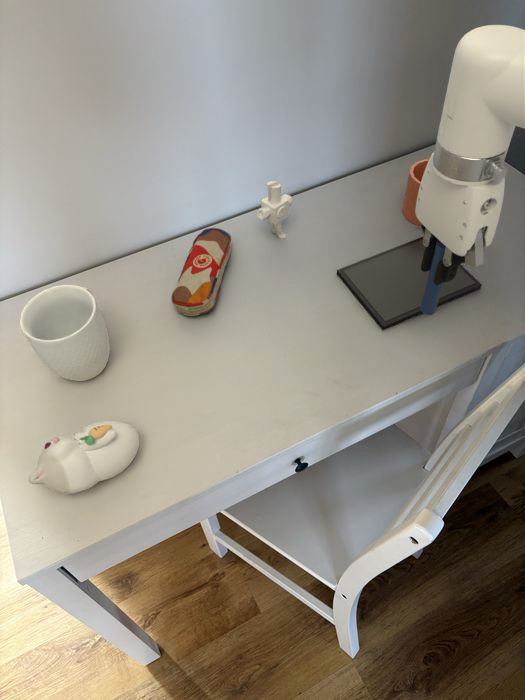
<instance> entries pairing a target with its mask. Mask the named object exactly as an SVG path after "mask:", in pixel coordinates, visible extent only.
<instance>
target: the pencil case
mask: <svg viewBox="0 0 525 700" xmlns="http://www.w3.org/2000/svg"><path fill="white" fill-rule="evenodd" d="M231 244H232V236H231V234H230V233H229V232H228V231H227V230H224V229H222V228H219V227H209V228H205V229H203V230H202V231H201V232H200V233H199V234H197V236H196V237H195V238H194V240H193V242H192V243H191V247H190V249H189V251H188V255H187V257H186V260H185V261H184V265H183V267H182V269H181V272H180V275H179V277H178V280H177V283H176V285H175V287H174V289H173V291H172V293H171V298H170V299H171V302H172V305H173V306H174V308H175V310H176V311H177V312H179V314H181V315H184V316H187V317H195V316H196V317H197V316H201V315H204V314H207V313H208V312H210V311H211V310H212V309H213V308H214V307H215V305H216V303H217V300H218V296H219V291H220V288H221V284H222V280H223V277H224V272H225V269H226V267H227V265H228V262H229V258H230V255H231V252H232V247H231Z"/></svg>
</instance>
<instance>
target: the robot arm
mask: <svg viewBox="0 0 525 700" xmlns="http://www.w3.org/2000/svg"><path fill="white" fill-rule="evenodd" d="M516 127H518V128H521V129H524V130H525V29H523V28H520V27H517V26H512V25H507V24H488V25H482V26H479V27H476V28H473V29H471V30H470V31H468V32H467V33H465V34H464V35H463V36H462V37H461V38H460V39H459V41H458V43H457V45H456V46H455V51H454V54H453V58H452V64H451V68H450V73H449V78H448V83H447V87H446V92H445V97H444V102H443V107H442V112H441V116H440V121H439V126H438V132H437V135H436V140H435V146H434V149H433V152H432V153H431V155H430V157H429V158H428V159H429V161H428V164H427V166H426V169H425V171H424V174H423V177H422V181H421V184H420V188H419V192H418V196H417V201H416V209H415V214H416V217H417V218H418V220H419V221H420V223H421V226H420V227H421V229H422V233H423V236H424V237H423V236H422V237H423V244H424V246H425V247H426V249H425V251H424V255H423V260H422V264H421V270H422V271H423V272H426V271H429V270H430V267H431V263H432V259H433V255H434V251H435V247H436V243H437V241H438V240H440V241H441V242H442V243H443V244H444V245H445V246H446V248H445V252H444V256H443V260H441V261H439V262H438V265H437V269H436V273H435V277H434V283H435V284H436V285H439V284H442V283H444V282H448V281H451V280H453V279H454V278H455V276H456V273H457V269H458V266H459V264H461V265H462V264H464V265H465V266H468V267H470V268H476V267H479V266H482V265H484V263H485V260H484V259H485V257H484V254H485V253H484V251H485V250H484V248H487V247H489V246H491V244H492V243H493V240H494V238H495V234H496V231H497V228H498V225H499V220H500V216H501V212H502V208H503V202H504V196H505V186H506V176H507V174H508V172H509V171H508V169H507V167H505V165H504V164H505V160H506V157H507V153H508V152H509V147H510V144H511V141H512V138H513V136H514V132H515V129H516Z"/></svg>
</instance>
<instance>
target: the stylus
mask: <svg viewBox="0 0 525 700" xmlns="http://www.w3.org/2000/svg"><path fill="white" fill-rule="evenodd" d="M445 248H446V246H445V245H444V244H443V243H442V242H441V241H440V240H438V241H437V243H436V247H435V251H434V255H433V259H432V263H431V267H430V271H429V275H428V279H427V283H426V287H425V291H424V296H423V300H422V304H421V308H420V310H421V312H422V313H423V314H424V315H425V316H432V315H434V314H435V313H436V311H437V308H438V307H437V304H438V300H439V297H440V293H441V290H442V286H443V283H442V284H439V285H436V284H435V283H434V277H435V273H436V269H437V265H438V262H439V261H441V260H443V256H444V252H445ZM436 307H437V308H436ZM423 314H422V315H423Z"/></svg>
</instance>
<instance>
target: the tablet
mask: <svg viewBox="0 0 525 700" xmlns="http://www.w3.org/2000/svg"><path fill="white" fill-rule="evenodd" d="M423 237H424V235H423V236H421V237H418V238H416V239H413V240H410V241H408V242H405V243H402V244H400V245H398V246H395V247H393V248H390V249H388V250H384V251H382V252H380V253H376V254H375V255H372V256H370V257H367V258H364V259H362V260H359V261H357V262H354V263H352V264H349V265H347V266H344V267H342V268H339V269H337V270H336V275H337V276H338V277H339V279H340V280H341V281H342V282H343V284H344V285H345V286H346V288H347V289H348V290H349V291H350V292H351V294H352V295H353V296H354V297H355V299H356V300H357V301H358V302H359V303H360V305H361V306H362V307H363V308H364V309H365V311H366V312H367V313H368V315H369V316H370V317H371V319H373V320H374V322H375V323H376V325H378V327H379V328H380V329H381V330H382V331H385V330H388V329H390V328H392V327H395V326H397V325H399V324H402V323H404V322H406V321H408V320H411V319H413V318H416V317H418V316H421V315H423V313H422V312H421V310H420V308H421V304H422V300H423V296H424V291H425V287H426V283H427V279H428V275H429V271H430V270H429V271H426V272H423V271H422V270H421V264H422V260H423V255H424V251H425V249H426V247H425V246H424V244H423ZM482 286H483V284H482V283H481V282H480V281H479V280H478V279H477V278H476V277H475V276H474V275H473V274H472V273H470V271H468V270H467V269H466V268H465V267H464V266H463V265H462V263H461V264H459V266H458V269H457V273H456V276H455V278H454V279H453V280H451V281H448V282H444V283H443V286H442V290H441V293H440V297H439V300H438V304H437V307H436V309H437V308H439V307H441V306H444V305H446V304H449V303H450V302H454V301H455V300H458V299H461V298H462V297H465V296H466V295H469V294H471V293H475V292H476V291H478V290H481V288H482Z"/></svg>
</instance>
